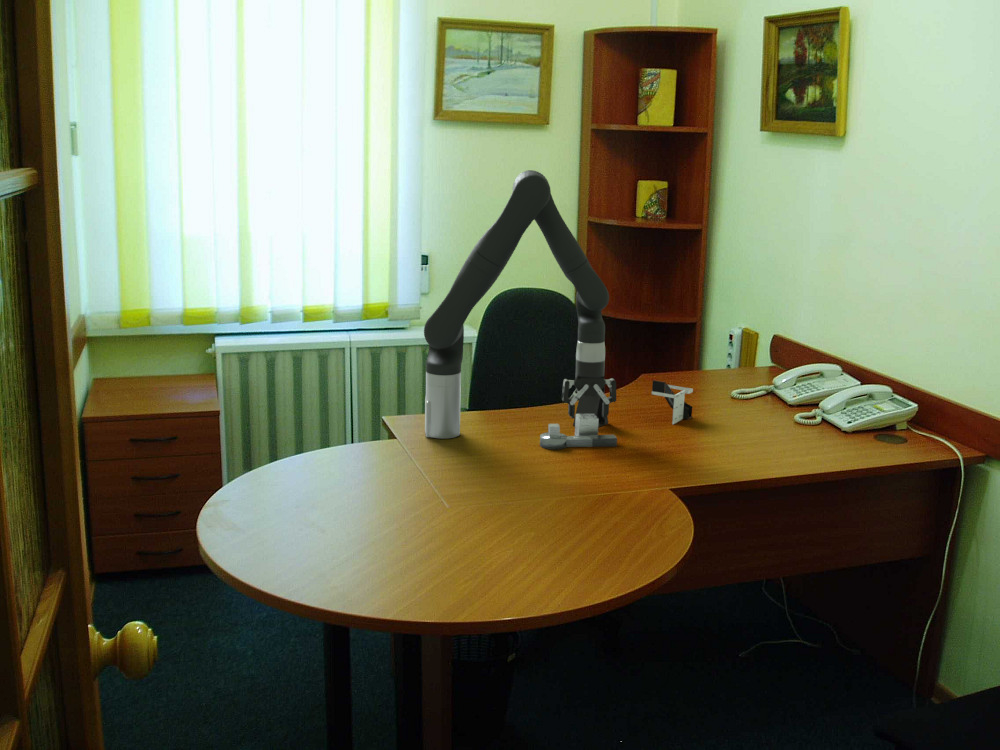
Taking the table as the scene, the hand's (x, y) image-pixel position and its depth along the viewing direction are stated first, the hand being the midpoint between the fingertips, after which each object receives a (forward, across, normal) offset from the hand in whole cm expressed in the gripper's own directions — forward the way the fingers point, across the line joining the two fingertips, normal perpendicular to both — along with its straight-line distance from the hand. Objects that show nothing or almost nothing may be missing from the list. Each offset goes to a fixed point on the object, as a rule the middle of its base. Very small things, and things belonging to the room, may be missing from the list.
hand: (588, 417), depth 254 cm
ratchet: (+6, -4, -6) cm, 9 cm away
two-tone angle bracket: (+7, +28, +18) cm, 34 cm away
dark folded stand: (+6, +4, +12) cm, 14 cm away
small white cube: (+6, 0, 0) cm, 6 cm away
